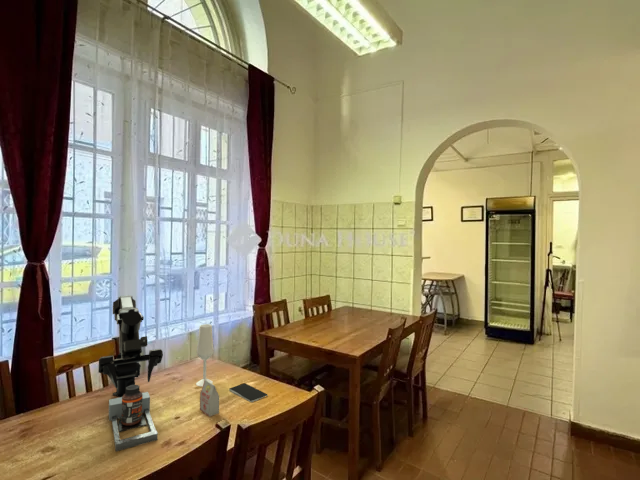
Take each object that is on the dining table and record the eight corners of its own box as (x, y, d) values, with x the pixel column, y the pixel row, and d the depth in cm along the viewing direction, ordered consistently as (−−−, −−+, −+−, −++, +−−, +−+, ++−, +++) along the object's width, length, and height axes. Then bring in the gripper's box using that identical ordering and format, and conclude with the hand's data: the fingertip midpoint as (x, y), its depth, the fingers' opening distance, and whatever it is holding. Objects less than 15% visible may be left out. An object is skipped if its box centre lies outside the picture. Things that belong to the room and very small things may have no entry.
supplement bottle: (133, 427, 111) (133, 391, 111) (116, 425, 112) (117, 389, 112) (146, 418, 117) (146, 384, 117) (130, 416, 118) (131, 382, 118)
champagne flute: (196, 380, 149) (197, 324, 149) (212, 379, 151) (214, 323, 151) (195, 387, 143) (196, 328, 143) (213, 385, 145) (214, 327, 145)
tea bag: (209, 406, 127) (210, 378, 127) (218, 413, 122) (219, 384, 122) (199, 409, 124) (200, 381, 124) (209, 416, 119) (209, 387, 119)
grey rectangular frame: (111, 421, 115) (111, 414, 115) (148, 412, 121) (148, 406, 121) (115, 451, 99) (115, 444, 99) (157, 440, 105) (157, 433, 105)
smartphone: (251, 401, 130) (228, 388, 140) (251, 404, 130) (228, 391, 140) (268, 394, 136) (245, 382, 146) (268, 397, 136) (244, 385, 146)
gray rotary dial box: (108, 414, 120) (109, 397, 120) (147, 405, 126) (147, 389, 126) (109, 420, 115) (109, 403, 115) (149, 411, 122) (150, 394, 122)
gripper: (99, 332, 112) (99, 378, 103) (162, 325, 123) (167, 367, 113) (98, 350, 119) (98, 395, 110) (158, 342, 129) (163, 382, 120)
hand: (133, 384), depth 113 cm, fingers open, 9 cm apart
